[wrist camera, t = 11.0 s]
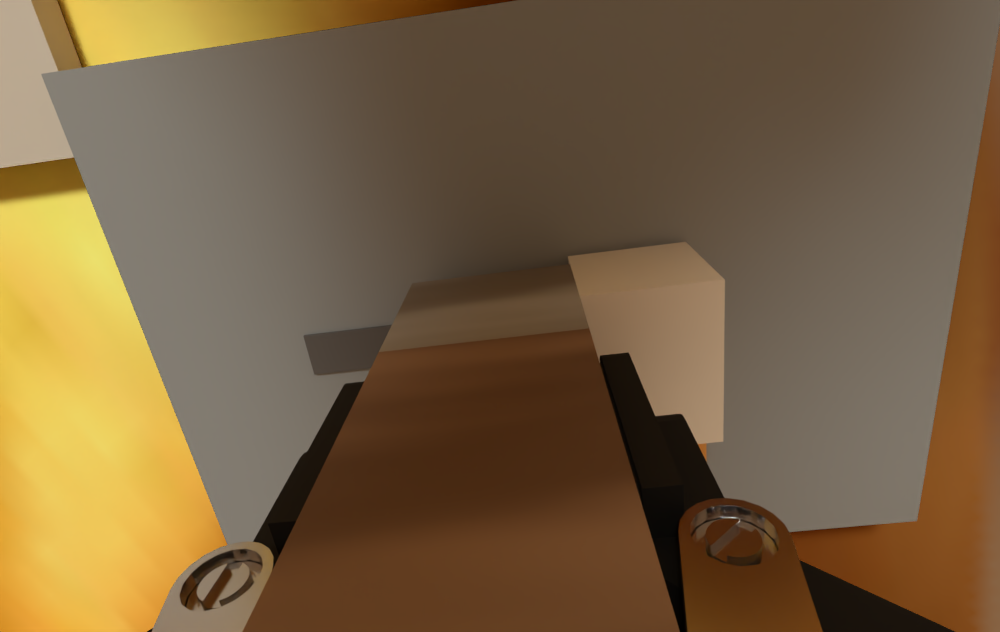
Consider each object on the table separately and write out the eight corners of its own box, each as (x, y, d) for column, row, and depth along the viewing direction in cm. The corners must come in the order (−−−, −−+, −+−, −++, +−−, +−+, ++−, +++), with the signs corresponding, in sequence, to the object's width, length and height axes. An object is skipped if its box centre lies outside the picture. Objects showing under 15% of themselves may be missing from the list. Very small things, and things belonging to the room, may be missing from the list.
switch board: (119, 74, 17) (37, 74, 14) (924, -50, 15) (1020, -79, 12) (274, 518, 23) (240, 582, 20) (863, 462, 21) (919, 523, 18)
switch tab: (567, 256, 15) (580, 297, 12) (685, 241, 15) (725, 279, 12) (580, 391, 17) (594, 454, 14) (688, 379, 16) (723, 441, 14)
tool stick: (411, 282, 15) (-277, 1691, 2) (570, 264, 15) (1018, 1766, 2) (439, 417, 16) (157, 1717, 3) (583, 402, 16) (872, 1763, 3)
